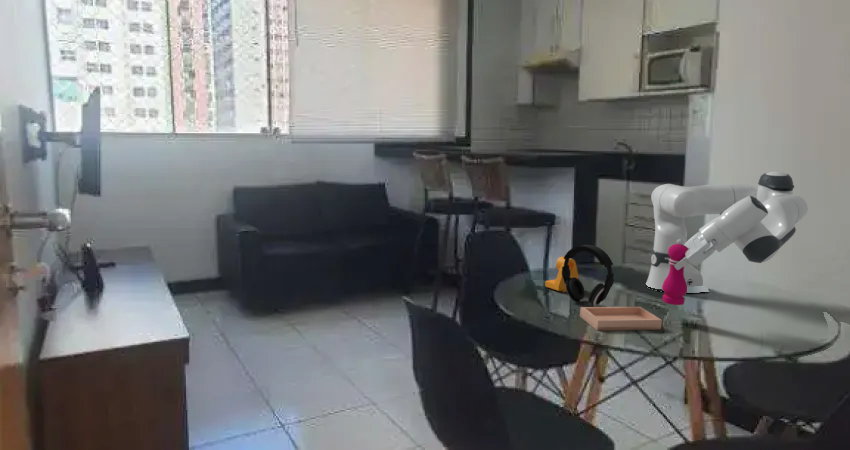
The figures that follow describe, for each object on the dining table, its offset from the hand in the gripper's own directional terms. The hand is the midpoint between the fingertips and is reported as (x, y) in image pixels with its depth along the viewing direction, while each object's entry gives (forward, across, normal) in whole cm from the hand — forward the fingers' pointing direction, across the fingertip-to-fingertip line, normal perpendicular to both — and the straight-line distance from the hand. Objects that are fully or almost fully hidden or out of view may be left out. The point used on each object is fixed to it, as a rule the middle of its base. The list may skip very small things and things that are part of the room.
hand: (674, 265), depth 183 cm
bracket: (+38, +22, +13) cm, 46 cm away
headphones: (+31, +6, +6) cm, 32 cm away
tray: (+23, -10, -2) cm, 25 cm away
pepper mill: (+8, 0, -9) cm, 12 cm away
